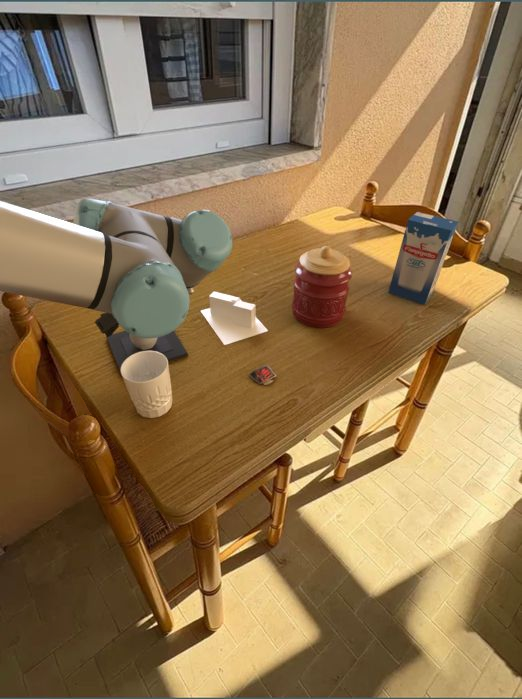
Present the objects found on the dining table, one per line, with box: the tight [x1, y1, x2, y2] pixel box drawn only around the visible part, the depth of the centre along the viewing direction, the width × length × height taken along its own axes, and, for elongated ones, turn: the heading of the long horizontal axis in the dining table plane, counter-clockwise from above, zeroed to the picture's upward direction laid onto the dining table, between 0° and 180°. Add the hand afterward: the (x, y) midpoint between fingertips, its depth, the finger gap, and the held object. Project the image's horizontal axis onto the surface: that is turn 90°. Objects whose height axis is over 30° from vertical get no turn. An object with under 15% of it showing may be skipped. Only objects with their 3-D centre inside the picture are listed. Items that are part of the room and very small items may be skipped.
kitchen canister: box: [291, 245, 353, 328], centre depth 88 cm, size 13×13×18 cm
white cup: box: [120, 351, 173, 419], centre depth 68 cm, size 8×8×10 cm
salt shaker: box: [130, 334, 158, 350], centre depth 79 cm, size 6×6×13 cm
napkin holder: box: [200, 291, 269, 346], centre depth 89 cm, size 15×11×6 cm
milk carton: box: [387, 211, 459, 306], centre depth 95 cm, size 10×6×20 cm, turn 54°
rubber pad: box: [105, 330, 189, 374], centre depth 83 cm, size 14×14×1 cm
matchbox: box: [249, 364, 277, 386], centre depth 77 cm, size 5×5×1 cm
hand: (134, 315), depth 79 cm, fingers open, 13 cm apart
